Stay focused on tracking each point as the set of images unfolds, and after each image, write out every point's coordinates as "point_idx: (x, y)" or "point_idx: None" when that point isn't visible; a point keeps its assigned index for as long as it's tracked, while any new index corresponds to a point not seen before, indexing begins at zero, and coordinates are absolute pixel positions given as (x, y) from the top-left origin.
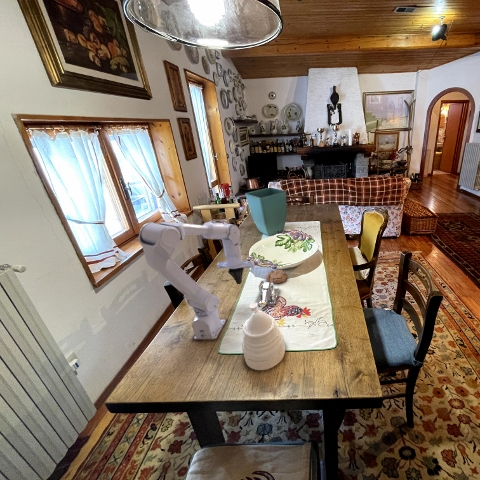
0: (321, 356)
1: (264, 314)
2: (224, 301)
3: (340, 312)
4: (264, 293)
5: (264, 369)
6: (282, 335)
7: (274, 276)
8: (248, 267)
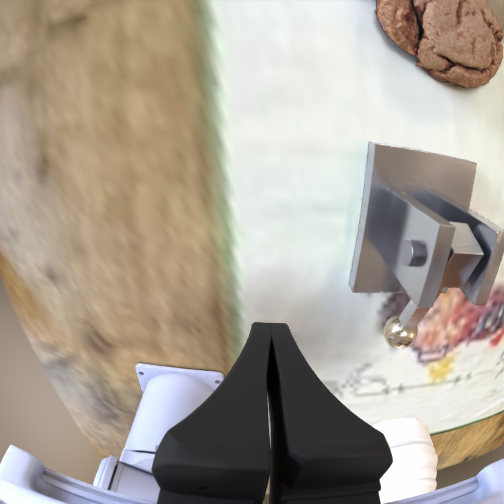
0: (480, 427)
1: None
2: (144, 239)
3: None
4: None
5: None
6: (436, 465)
7: (455, 42)
8: (439, 496)
